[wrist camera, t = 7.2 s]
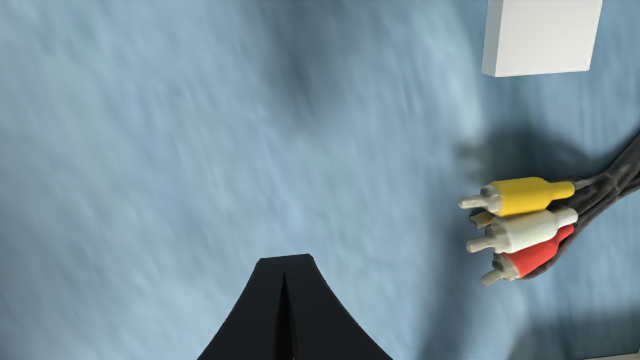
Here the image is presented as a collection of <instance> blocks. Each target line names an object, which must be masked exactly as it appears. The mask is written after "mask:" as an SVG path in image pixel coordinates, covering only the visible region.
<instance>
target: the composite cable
mask: <svg viewBox="0 0 640 360" xmlns="http://www.w3.org/2000/svg"><path fill="white" fill-rule="evenodd" d="M639 189H640V134H639V135H638V136H637V137H636V138H635V139H634V140H633V142H632V143H631V144H630V145H629V146H628V147H627V148H626V149H625V150H624V151H623V152H622V153H621V155H619V157H618V158H617V159H616V160H615V161H614V163H613V164H612V165H611V166H610V167H609V168H608V169H607V170H605V171H603V172H602V173H598V174H597V175H595V176H593V177H590V178H588V179H582V178H580V177H578V176H571V177H568V178H558V179H553V180H549V181H545V180H544V179H542V178H539V177H528V178H520V179H511V180H502V181H493V182H491V183H489V184H488V185H487V186H484V187H482V188H481V194H480V195H476V196H469V197H461V198H460V199H459V200H458V205H459V206H460V207H461V208H463V209H466V208H473V207H483V208H485V209H486V210H487V211H484V212H482V213H480V214H478V215H475V216H471V217H470V218H469V220H470V222H472V223H473V224H474V225H475V226H476V227H477V229H480V228H482V227H484V226H486V225H489V224H491V223H492V224H491V225H490V226H489V227H487V228H486V229H485V235H484V237H479V238H477V239H474V240H469V241H468V242H467V245H466V249H467V250H468V252H470V253H473V252H476V251H478V250H482V249H484V248H487V247H491V248H492V249H493V250H494V253H493V257H494V259H493V261H492V266H493V267H494V268H495V269H494V270H492V271H490V272H488V273H487V274H486V275H484V276H483V277H482V278H481V280H480V282H481V284H482V286H488V285H491V284H492V283H494V282H495V281H497V280H498V279H500V278H503V279H505V280H510V281H512V280H514V279H515V280H527V279H532V278H534V277H537V276H538V275H540V274H542V273H544V272H546V271H547V270H548V269H549V268H550V267H551V266H553V265H554V264H555V263H556V262H557V261H558V260H559V258H560V257H561V256H562V255H563V254H564V252H565V251H566V250H567V248H568V247H569V246H570V245H571V244H572V242H573V241H574V240H575V239H576V238H577V236H578V234H580V233H581V232H582V230H583V229H584V228H585V227H586V226H587V225H588V224H589V223H590V222H592V221H593V220H594V219H595V218H596V217H597V216H598V215H600V214H601V213H602V212H603V211H604V210H606V209H607V208H608V207H610V206H611V205H612V204H614V203H615V202H616V201H618V200H619V199H622V198H623V197H625V196H627V195H629V194H631V193H633V192H635V191H637V190H639Z"/></svg>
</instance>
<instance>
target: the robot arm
mask: <svg viewBox="0 0 640 360" xmlns="http://www.w3.org/2000/svg"><path fill="white" fill-rule="evenodd" d="M293 358H294V360H393V359H392V358H391V357H390V356H389V355H388V354H387V353H386V352H384V351H383V350H382V349H381V348H380V347H379V346H378V345H377V344H376V343H375V342H374V341H373V340H372V339H371V338H370V337H369V336H368V334H367V333H366V332H365V331H364V330H363V329H362V328H361V327H360V326H359V325H358V323H357V322H356V321H355V320H354V319H353V318H352V316H351V315H350V314H349V313H348V312H347V310H346V309H345V308H344V306H343V305H342V304H341V303H340V301H339V300H338V298H337V297H336V296H335V294H334V293H333V292H332V290H331V289H330V287H329V286H328V284H327V283H326V281H325V280H324V278H323V276H322V275H321V273H320V271H319V269H318V267H317V266H316V263H315V261H314V258H313V257H312V256H311V255H310V254H300V255H290V256H280V257H270V258H261V259H260V260H259V261H258V262H257V263H256V266H255V268H254V271H253V273H252V275H251V277H250V279H249V281H248V283H247V285H246V287H245V288H244V290H243V292H242V294H241V296H240V297H239V299H238V301H237V302H236V304H235V306H234V307H233V309H232V311H231V312H230V314H229V315H228V317H227V319H226V320H225V321H224V323H223V324H222V326H221V327H220V329H219V330H218V332H217V333H216V335H215V336H214V338H213V339H212V340H211V342H210V343H209V345H208V346H207V347H206V348H205V350H204V351H203V352H202V354H201V355H200V356H199V358H198V359H197V360H293Z"/></svg>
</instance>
